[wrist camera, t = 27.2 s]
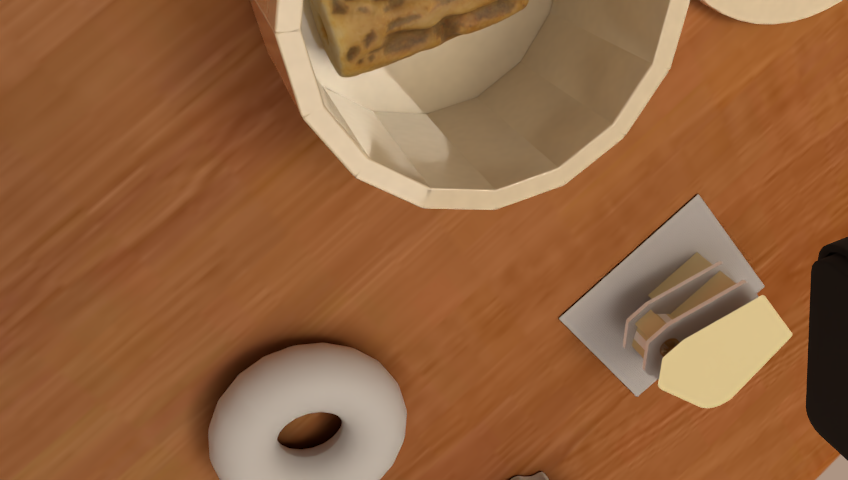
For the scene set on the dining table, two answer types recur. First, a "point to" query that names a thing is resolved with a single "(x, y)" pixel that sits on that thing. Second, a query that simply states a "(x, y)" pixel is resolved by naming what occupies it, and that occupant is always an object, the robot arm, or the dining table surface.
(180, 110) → the dining table surface
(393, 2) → the tan cylinder with hole
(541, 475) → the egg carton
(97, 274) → the dining table surface
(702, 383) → the stacked layers on plate
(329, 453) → the donut
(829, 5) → the lid
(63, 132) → the dining table surface
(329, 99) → the crock
